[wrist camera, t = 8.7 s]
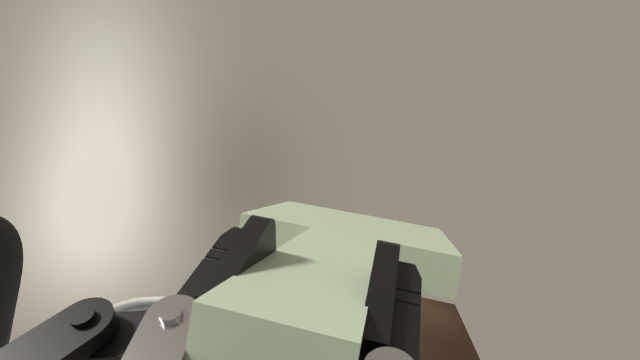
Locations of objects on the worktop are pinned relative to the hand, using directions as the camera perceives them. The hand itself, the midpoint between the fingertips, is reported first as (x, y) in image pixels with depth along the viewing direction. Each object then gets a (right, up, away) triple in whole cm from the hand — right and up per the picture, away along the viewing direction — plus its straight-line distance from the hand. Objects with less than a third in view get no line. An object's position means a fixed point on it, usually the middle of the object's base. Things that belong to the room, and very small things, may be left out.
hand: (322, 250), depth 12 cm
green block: (+1, -2, +5) cm, 6 cm away
